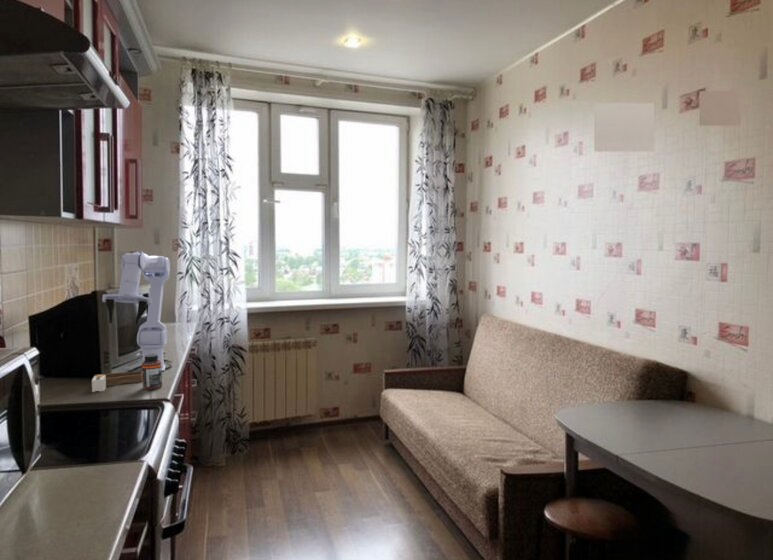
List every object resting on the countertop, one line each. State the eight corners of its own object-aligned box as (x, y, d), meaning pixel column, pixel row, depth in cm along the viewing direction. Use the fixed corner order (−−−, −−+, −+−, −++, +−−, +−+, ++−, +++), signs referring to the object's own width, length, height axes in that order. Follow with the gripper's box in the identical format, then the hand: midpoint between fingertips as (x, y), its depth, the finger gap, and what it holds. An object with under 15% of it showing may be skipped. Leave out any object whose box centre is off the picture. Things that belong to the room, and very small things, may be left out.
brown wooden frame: (95, 381, 180) (94, 374, 180) (144, 376, 186) (144, 370, 186) (92, 387, 173) (91, 380, 173) (143, 381, 179) (143, 375, 179)
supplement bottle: (143, 386, 174) (141, 353, 173) (162, 384, 176) (160, 352, 175) (142, 391, 168) (141, 357, 167) (162, 388, 171) (161, 355, 170)
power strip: (92, 392, 168) (91, 379, 167) (94, 387, 173) (94, 375, 173) (104, 391, 169) (103, 378, 168) (106, 386, 174) (105, 374, 174)
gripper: (104, 278, 165) (97, 316, 159) (153, 282, 171) (148, 319, 165) (106, 287, 171) (99, 324, 165) (153, 291, 176) (148, 327, 170)
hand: (123, 322), depth 165 cm, fingers open, 7 cm apart
